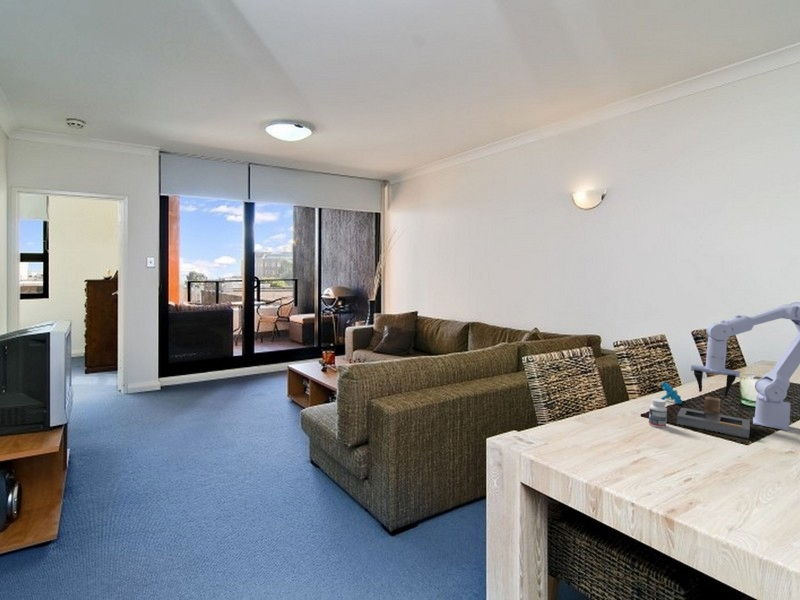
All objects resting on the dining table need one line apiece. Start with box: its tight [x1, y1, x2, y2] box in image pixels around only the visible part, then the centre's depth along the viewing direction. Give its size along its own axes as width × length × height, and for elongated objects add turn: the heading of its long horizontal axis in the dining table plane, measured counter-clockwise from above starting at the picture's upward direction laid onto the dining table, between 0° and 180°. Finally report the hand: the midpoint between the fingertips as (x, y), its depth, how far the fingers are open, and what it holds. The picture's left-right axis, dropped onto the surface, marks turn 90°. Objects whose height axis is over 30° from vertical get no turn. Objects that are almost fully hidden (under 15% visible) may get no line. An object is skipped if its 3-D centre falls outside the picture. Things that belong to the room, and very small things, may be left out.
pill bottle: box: [648, 398, 668, 429], centre depth 154 cm, size 5×5×9 cm
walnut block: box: [703, 396, 721, 414], centre depth 164 cm, size 4×4×7 cm
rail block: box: [676, 407, 751, 439], centre depth 155 cm, size 20×12×3 cm, turn 52°
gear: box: [660, 381, 683, 405], centre depth 184 cm, size 11×6×10 cm
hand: (713, 393), depth 163 cm, fingers open, 7 cm apart
